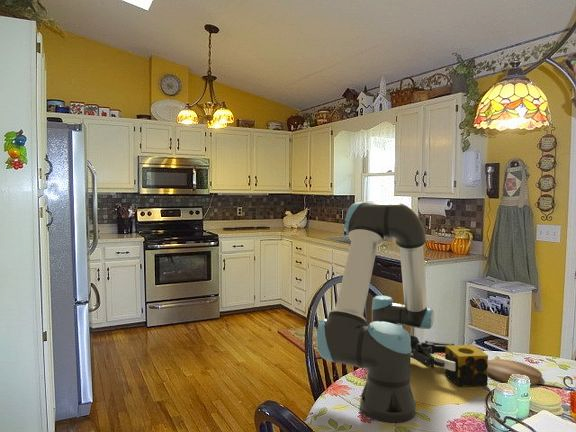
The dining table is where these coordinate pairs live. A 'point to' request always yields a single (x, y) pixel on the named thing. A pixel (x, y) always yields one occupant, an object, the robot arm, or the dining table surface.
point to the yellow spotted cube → (467, 365)
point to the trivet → (512, 370)
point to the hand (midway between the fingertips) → (464, 361)
